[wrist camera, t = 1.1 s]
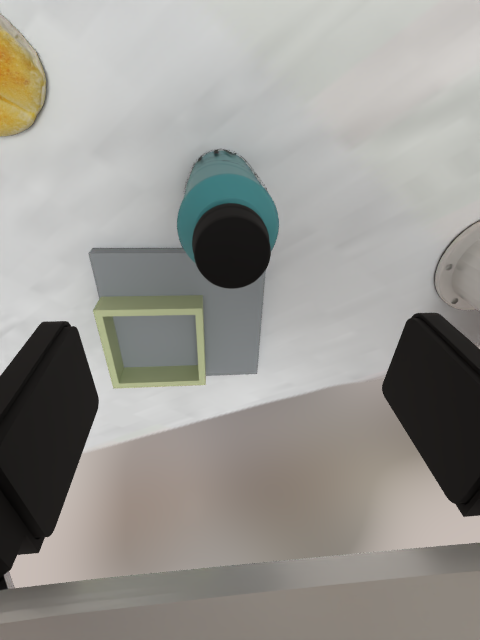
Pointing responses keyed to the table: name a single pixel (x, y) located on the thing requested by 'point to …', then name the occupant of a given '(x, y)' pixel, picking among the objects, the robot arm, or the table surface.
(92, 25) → the table surface
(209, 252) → the beverage bottle
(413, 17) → the table surface
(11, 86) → the bread roll
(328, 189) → the table surface
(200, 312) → the deck plate
